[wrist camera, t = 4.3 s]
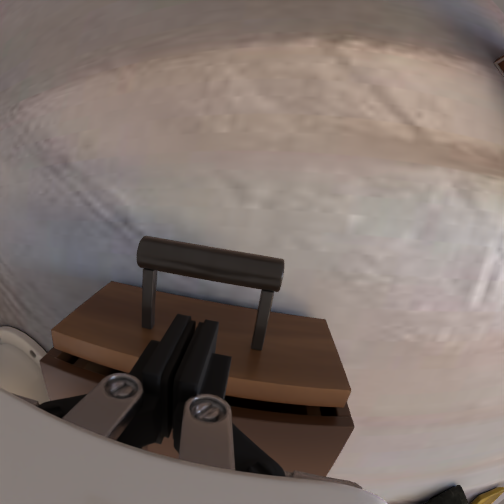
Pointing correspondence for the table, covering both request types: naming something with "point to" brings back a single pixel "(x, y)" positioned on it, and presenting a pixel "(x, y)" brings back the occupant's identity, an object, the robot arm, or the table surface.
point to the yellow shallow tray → (488, 496)
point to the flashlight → (450, 497)
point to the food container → (500, 64)
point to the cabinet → (246, 420)
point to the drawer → (229, 331)
